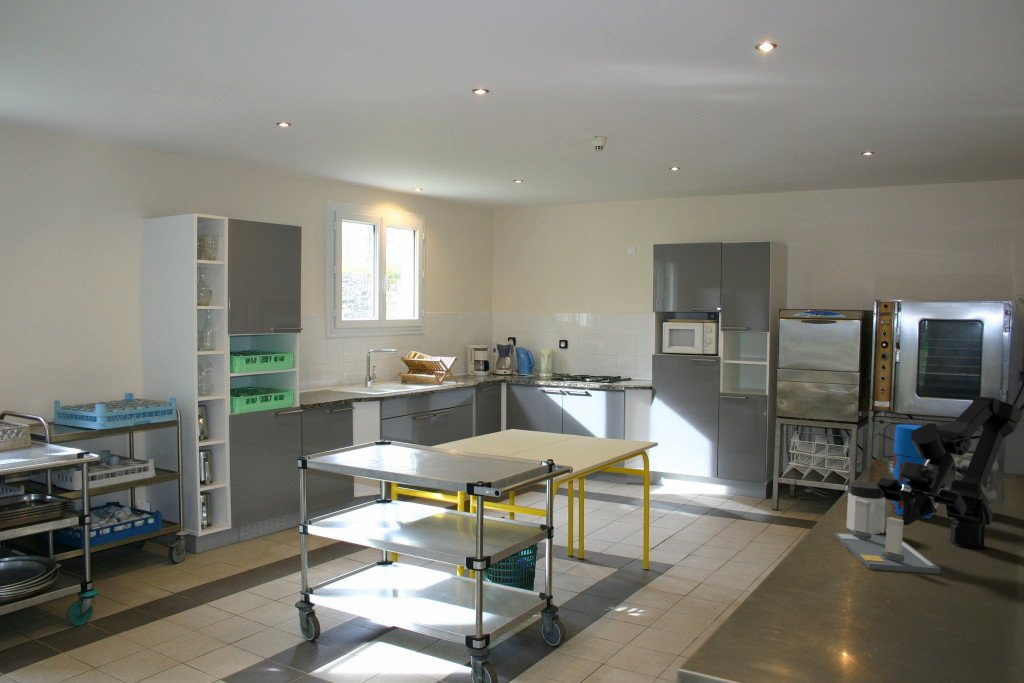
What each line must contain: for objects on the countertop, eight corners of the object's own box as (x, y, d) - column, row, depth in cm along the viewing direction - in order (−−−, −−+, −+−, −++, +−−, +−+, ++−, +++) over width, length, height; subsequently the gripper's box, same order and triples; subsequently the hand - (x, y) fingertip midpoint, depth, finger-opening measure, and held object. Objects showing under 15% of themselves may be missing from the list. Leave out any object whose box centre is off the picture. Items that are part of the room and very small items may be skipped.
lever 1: (854, 534, 196) (856, 498, 196) (871, 538, 193) (873, 502, 192) (851, 535, 196) (853, 499, 195) (867, 539, 192) (869, 503, 192)
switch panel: (897, 541, 197) (897, 535, 197) (940, 573, 172) (940, 567, 172) (835, 537, 199) (835, 531, 199) (868, 569, 174) (869, 562, 174)
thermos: (929, 511, 229) (934, 426, 228) (936, 520, 219) (941, 431, 218) (888, 507, 233) (892, 423, 232) (893, 516, 222) (897, 428, 222)
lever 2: (885, 555, 179) (887, 516, 179) (904, 561, 176) (906, 521, 175) (881, 556, 179) (883, 517, 178) (900, 562, 175) (902, 521, 175)
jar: (869, 536, 200) (871, 490, 200) (840, 528, 207) (843, 483, 207) (889, 532, 205) (892, 486, 205) (860, 524, 212) (863, 480, 211)
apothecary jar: (951, 514, 226) (954, 452, 226) (945, 505, 237) (948, 446, 237) (1000, 520, 222) (1003, 456, 221) (992, 510, 233) (995, 450, 232)
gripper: (883, 443, 189) (853, 493, 183) (963, 456, 174) (933, 511, 168) (899, 473, 194) (871, 522, 188) (978, 488, 178) (950, 543, 173)
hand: (904, 524), depth 179 cm, fingers closed
